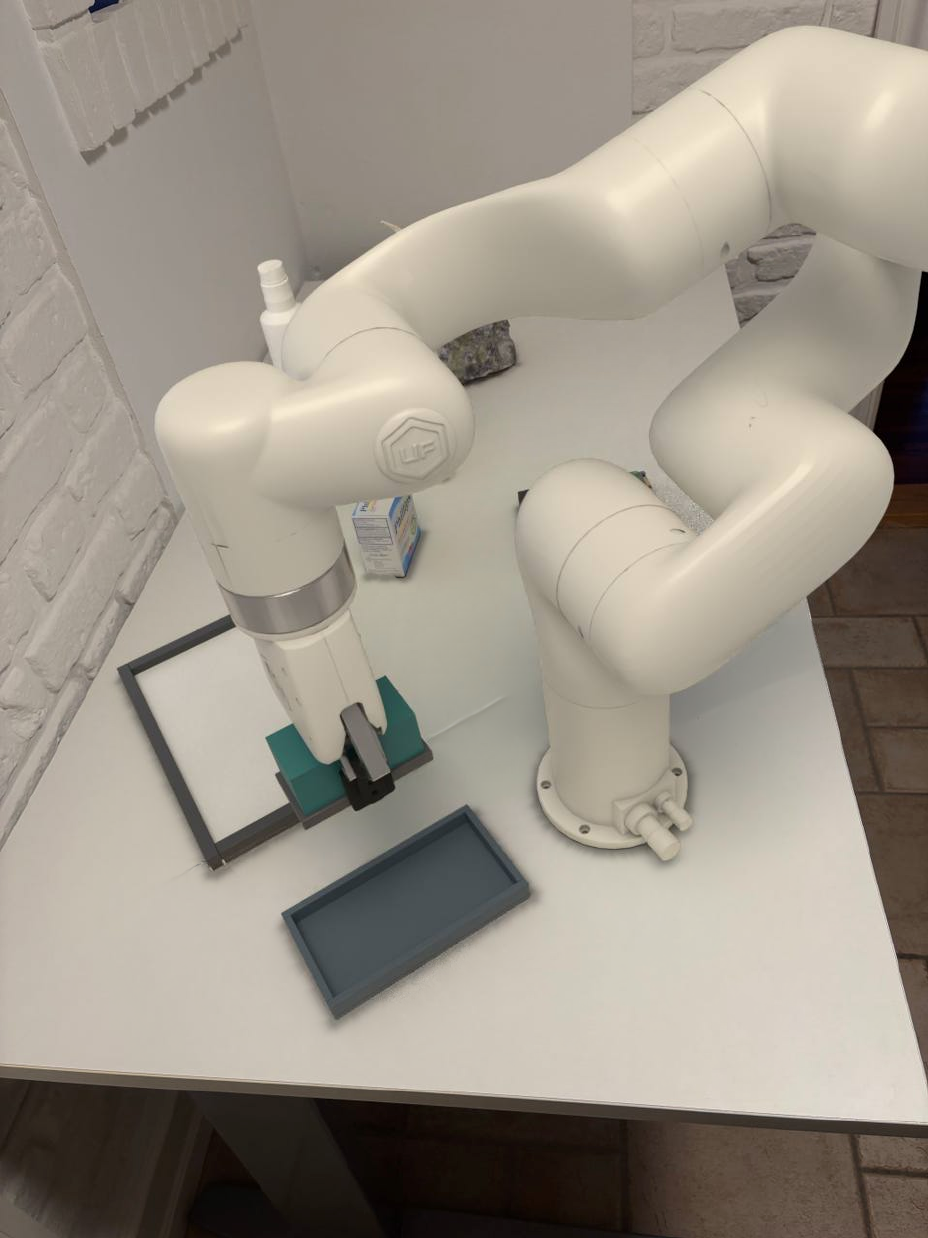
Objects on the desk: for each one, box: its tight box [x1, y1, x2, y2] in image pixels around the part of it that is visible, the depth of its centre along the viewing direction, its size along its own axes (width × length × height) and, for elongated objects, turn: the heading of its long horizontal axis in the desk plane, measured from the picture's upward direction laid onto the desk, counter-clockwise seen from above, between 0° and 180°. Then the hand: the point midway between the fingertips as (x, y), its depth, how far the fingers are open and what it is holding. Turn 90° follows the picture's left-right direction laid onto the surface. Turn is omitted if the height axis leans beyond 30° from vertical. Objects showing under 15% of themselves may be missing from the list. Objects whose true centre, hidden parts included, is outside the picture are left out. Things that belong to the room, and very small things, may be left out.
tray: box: [280, 804, 531, 1021], centre depth 75 cm, size 9×17×2 cm, turn 121°
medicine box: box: [350, 494, 421, 578], centre depth 105 cm, size 8×4×9 cm, turn 168°
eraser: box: [265, 674, 435, 831], centre depth 65 cm, size 10×5×5 cm, turn 120°
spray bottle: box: [257, 259, 303, 370], centre depth 134 cm, size 7×7×18 cm
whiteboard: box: [116, 613, 301, 873], centre depth 92 cm, size 28×20×2 cm
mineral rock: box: [436, 319, 517, 384], centre depth 132 cm, size 13×11×10 cm
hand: (355, 769), depth 67 cm, fingers closed on eraser, 5 cm apart
